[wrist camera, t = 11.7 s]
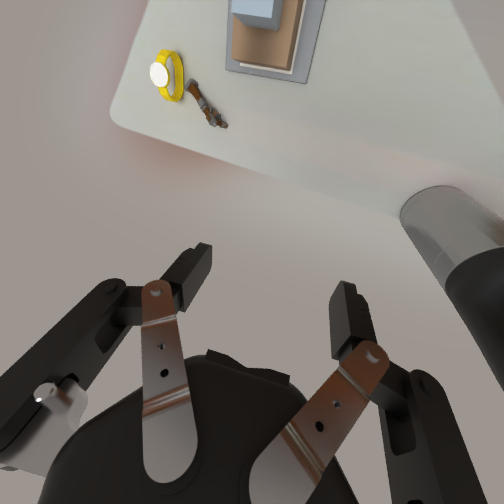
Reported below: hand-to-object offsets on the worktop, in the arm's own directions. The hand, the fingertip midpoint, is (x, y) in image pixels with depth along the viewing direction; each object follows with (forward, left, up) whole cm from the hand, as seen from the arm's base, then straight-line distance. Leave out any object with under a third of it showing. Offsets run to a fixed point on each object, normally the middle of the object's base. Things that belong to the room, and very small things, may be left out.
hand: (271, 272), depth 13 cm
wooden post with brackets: (+17, -5, -30) cm, 35 cm away
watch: (+22, -8, -30) cm, 38 cm away
